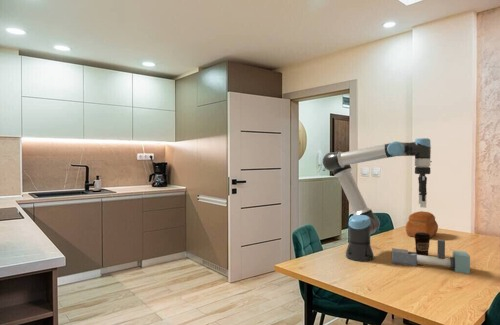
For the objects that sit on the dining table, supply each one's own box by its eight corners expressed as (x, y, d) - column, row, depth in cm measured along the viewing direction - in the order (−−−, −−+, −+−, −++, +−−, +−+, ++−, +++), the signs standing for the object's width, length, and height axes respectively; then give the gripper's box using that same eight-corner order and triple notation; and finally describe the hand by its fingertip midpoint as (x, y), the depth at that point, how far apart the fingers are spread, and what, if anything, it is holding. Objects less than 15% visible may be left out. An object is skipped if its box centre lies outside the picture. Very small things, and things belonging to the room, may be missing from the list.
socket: (455, 272, 160) (455, 255, 160) (452, 266, 168) (452, 250, 168) (469, 273, 158) (470, 256, 157) (466, 268, 166) (466, 251, 166)
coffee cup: (432, 258, 182) (433, 235, 182) (417, 257, 183) (417, 234, 183) (427, 253, 190) (427, 231, 190) (412, 253, 192) (412, 231, 192)
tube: (408, 264, 170) (409, 238, 170) (408, 261, 175) (408, 236, 175) (465, 271, 160) (465, 243, 160) (462, 267, 165) (463, 241, 165)
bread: (439, 234, 236) (439, 211, 236) (430, 240, 221) (430, 215, 221) (413, 231, 249) (413, 209, 248) (403, 235, 233) (403, 212, 233)
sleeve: (391, 263, 173) (391, 251, 173) (392, 260, 179) (392, 248, 179) (416, 266, 168) (417, 254, 168) (416, 262, 174) (416, 250, 174)
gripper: (432, 167, 163) (432, 209, 163) (428, 166, 185) (428, 202, 186) (416, 167, 166) (415, 208, 166) (413, 166, 188) (413, 202, 189)
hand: (422, 205), depth 176 cm, fingers open, 13 cm apart
